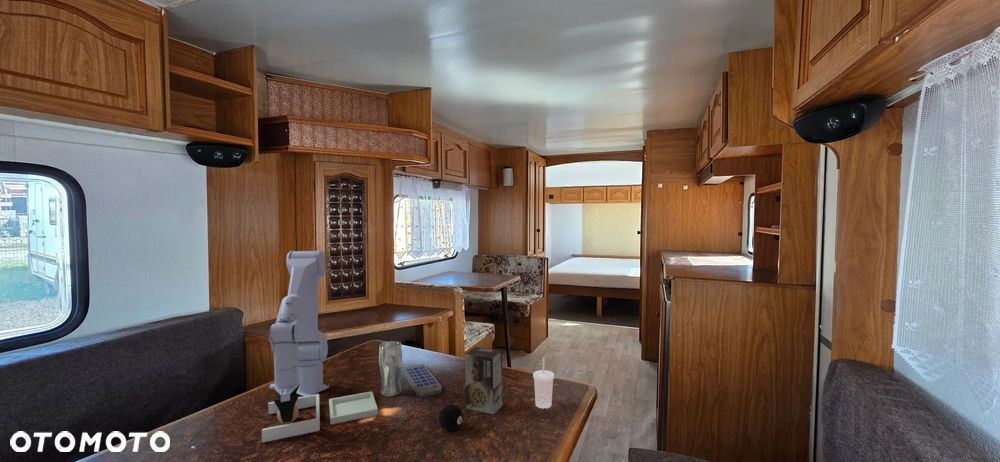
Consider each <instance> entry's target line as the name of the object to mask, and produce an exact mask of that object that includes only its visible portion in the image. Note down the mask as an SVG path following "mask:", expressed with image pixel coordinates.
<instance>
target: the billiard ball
mask: <svg viewBox="0 0 1000 462" xmlns="http://www.w3.org/2000/svg"><path fill="white" fill-rule="evenodd" d="M463 418H464V415H463V411H462V409H461V408H460V407H459V406H458V405H457V404H456V405H455V404H447V405H445V406H443V407H442V409H441V410H440V412H439V414H438V422H439V424H440V426H441V428H442V429H444V430H445V431H455V430H457V429H458V428H460V426H461V424H462V423H463V420H464V419H463Z"/></svg>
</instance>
